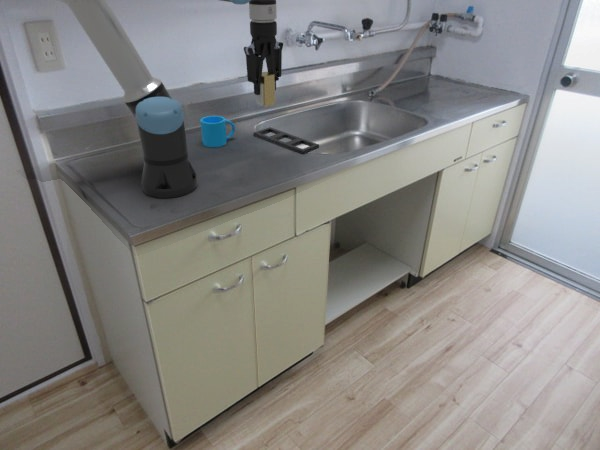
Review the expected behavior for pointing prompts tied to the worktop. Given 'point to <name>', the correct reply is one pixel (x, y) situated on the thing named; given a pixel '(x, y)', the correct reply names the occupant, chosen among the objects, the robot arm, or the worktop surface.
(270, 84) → the nut block
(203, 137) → the mug
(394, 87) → the worktop surface
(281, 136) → the dark slotted tray
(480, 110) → the worktop surface
